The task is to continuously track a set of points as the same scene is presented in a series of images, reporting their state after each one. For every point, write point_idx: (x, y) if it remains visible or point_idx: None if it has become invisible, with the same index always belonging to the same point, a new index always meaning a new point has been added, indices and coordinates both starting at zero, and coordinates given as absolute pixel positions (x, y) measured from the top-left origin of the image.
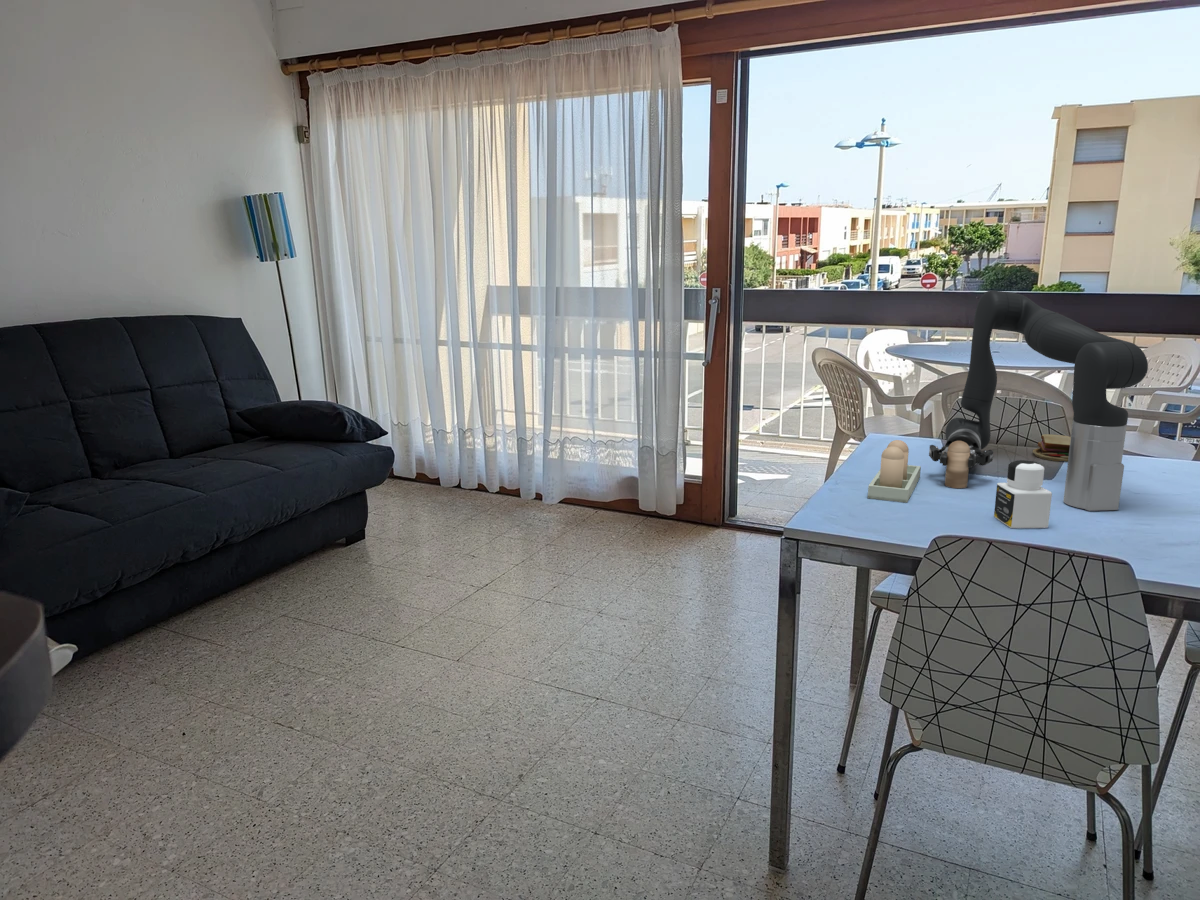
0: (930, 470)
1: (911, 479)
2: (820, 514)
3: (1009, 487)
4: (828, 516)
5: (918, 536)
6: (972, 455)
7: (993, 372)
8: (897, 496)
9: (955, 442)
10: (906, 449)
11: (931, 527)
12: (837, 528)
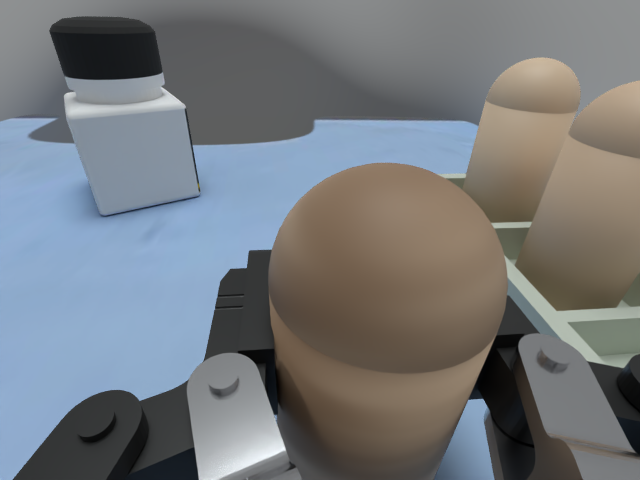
0: None
1: None
2: None
3: (163, 92)
4: (473, 143)
5: (322, 131)
6: (244, 332)
7: None
8: None
9: (422, 168)
10: (577, 121)
11: (315, 148)
12: (427, 127)
